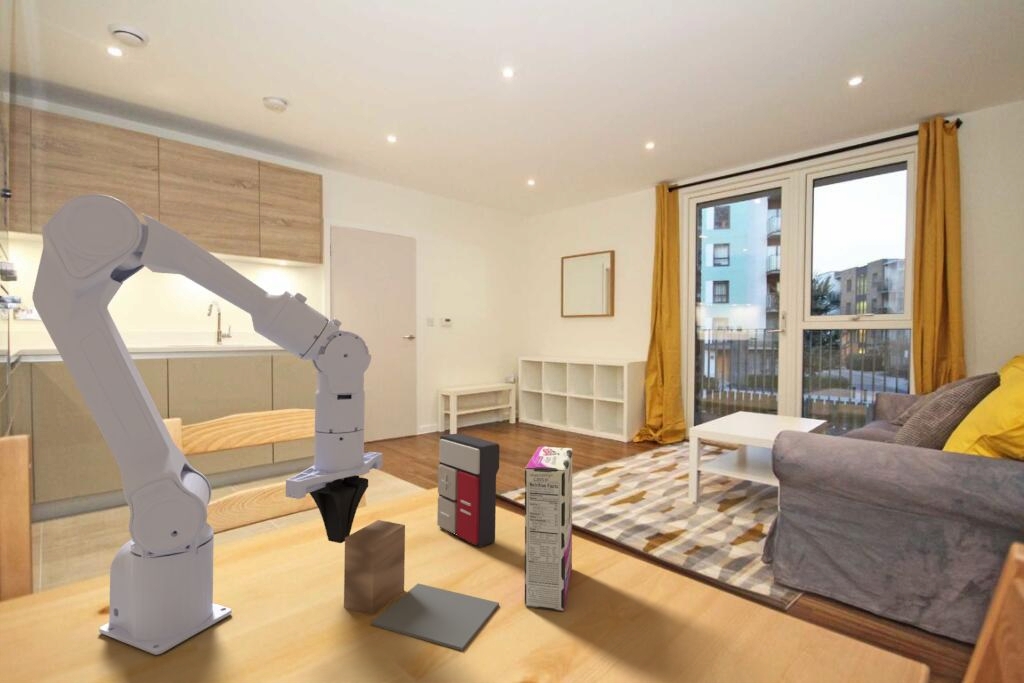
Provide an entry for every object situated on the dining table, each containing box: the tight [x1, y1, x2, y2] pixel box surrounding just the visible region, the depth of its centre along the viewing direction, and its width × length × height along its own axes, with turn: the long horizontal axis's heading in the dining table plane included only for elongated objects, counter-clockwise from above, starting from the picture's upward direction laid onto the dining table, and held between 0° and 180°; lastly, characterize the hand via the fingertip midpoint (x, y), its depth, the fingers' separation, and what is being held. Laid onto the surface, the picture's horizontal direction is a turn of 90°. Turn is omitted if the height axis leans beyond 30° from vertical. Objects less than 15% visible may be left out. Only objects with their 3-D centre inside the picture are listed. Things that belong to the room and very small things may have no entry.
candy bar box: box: [524, 445, 573, 612], centre depth 61 cm, size 11×5×16 cm, turn 168°
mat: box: [371, 583, 500, 652], centre depth 54 cm, size 11×9×1 cm
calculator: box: [436, 433, 501, 548], centre depth 76 cm, size 11×4×15 cm, turn 43°
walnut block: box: [343, 519, 406, 617], centre depth 57 cm, size 4×6×8 cm, turn 158°
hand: (338, 539), depth 59 cm, fingers closed
